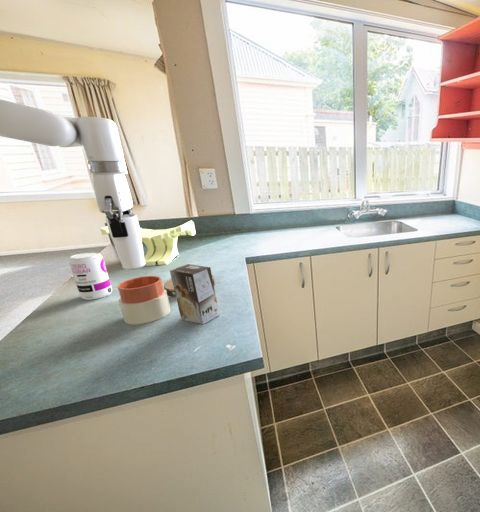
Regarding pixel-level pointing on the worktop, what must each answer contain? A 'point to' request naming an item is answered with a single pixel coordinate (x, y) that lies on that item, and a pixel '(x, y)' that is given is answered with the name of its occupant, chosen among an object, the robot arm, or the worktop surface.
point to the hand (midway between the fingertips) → (125, 233)
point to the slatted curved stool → (161, 242)
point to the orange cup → (140, 289)
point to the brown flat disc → (170, 289)
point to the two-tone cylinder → (145, 310)
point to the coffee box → (195, 293)
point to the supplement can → (90, 275)
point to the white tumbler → (129, 244)
